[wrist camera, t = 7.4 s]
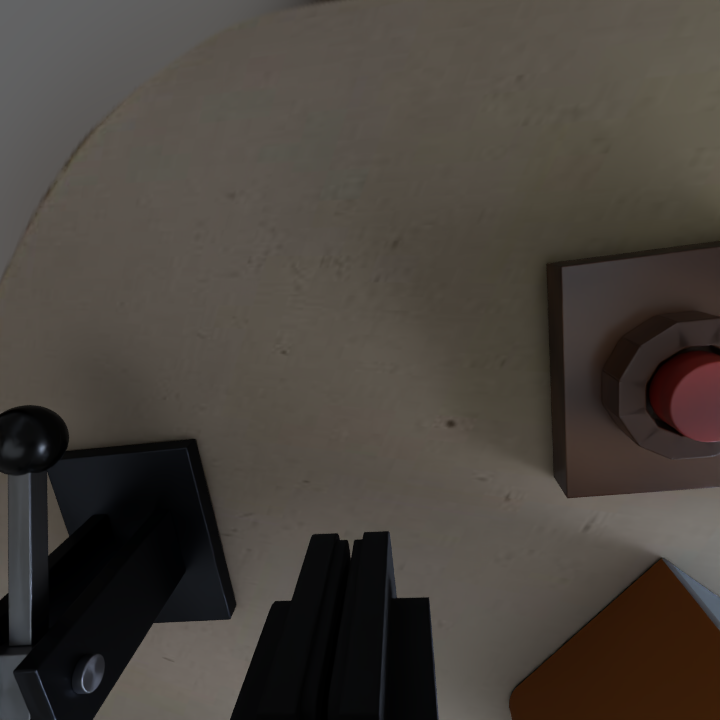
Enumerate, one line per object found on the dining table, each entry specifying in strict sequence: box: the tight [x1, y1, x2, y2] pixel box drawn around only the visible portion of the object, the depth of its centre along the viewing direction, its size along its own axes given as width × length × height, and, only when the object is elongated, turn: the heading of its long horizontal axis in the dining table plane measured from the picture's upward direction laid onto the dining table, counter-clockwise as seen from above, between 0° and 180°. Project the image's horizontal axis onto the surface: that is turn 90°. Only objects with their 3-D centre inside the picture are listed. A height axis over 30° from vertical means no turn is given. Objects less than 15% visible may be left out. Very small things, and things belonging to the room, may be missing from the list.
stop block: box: [547, 241, 720, 498], centre depth 22 cm, size 12×10×4 cm
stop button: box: [649, 351, 720, 442], centre depth 20 cm, size 4×4×2 cm
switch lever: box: [0, 405, 69, 720], centre depth 21 cm, size 13×3×3 cm, turn 8°
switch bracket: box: [0, 439, 236, 720], centre depth 24 cm, size 12×9×12 cm
